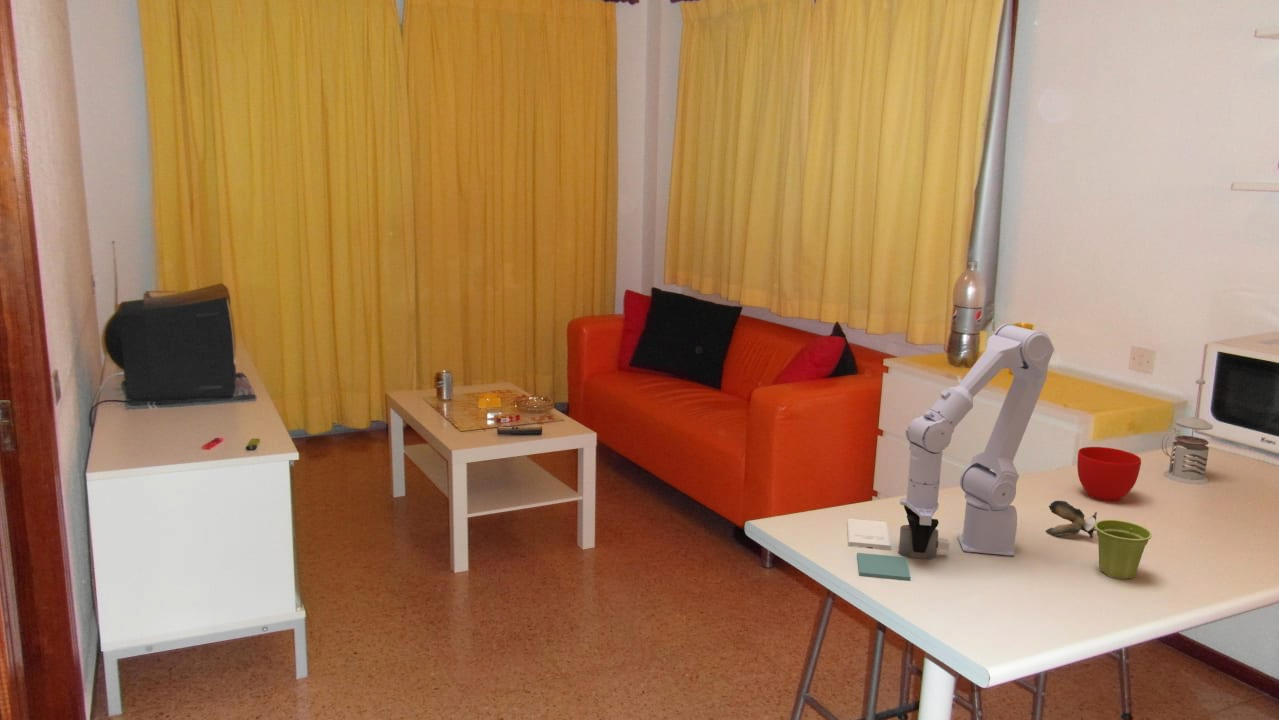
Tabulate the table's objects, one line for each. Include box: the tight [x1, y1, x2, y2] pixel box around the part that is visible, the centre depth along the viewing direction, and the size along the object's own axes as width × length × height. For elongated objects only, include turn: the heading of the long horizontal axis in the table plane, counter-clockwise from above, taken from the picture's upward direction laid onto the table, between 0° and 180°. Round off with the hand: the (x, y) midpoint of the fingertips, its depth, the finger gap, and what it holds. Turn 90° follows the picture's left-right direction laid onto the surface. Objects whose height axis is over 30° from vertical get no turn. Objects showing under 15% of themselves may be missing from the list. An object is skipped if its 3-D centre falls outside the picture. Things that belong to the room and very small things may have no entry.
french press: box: [1160, 378, 1214, 485], centre depth 225 cm, size 10×12×25 cm
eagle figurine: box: [1045, 500, 1098, 539], centre depth 189 cm, size 8×7×9 cm
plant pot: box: [1094, 519, 1153, 580], centre depth 171 cm, size 9×9×9 cm
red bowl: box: [1076, 446, 1142, 502], centre depth 213 cm, size 13×17×10 cm
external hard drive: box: [846, 518, 892, 551], centre depth 186 cm, size 2×8×12 cm
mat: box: [856, 552, 911, 581], centre depth 171 cm, size 9×9×1 cm
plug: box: [898, 524, 950, 560], centre depth 177 cm, size 9×4×5 cm, turn 80°
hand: (917, 546), depth 178 cm, fingers closed on plug, 4 cm apart
